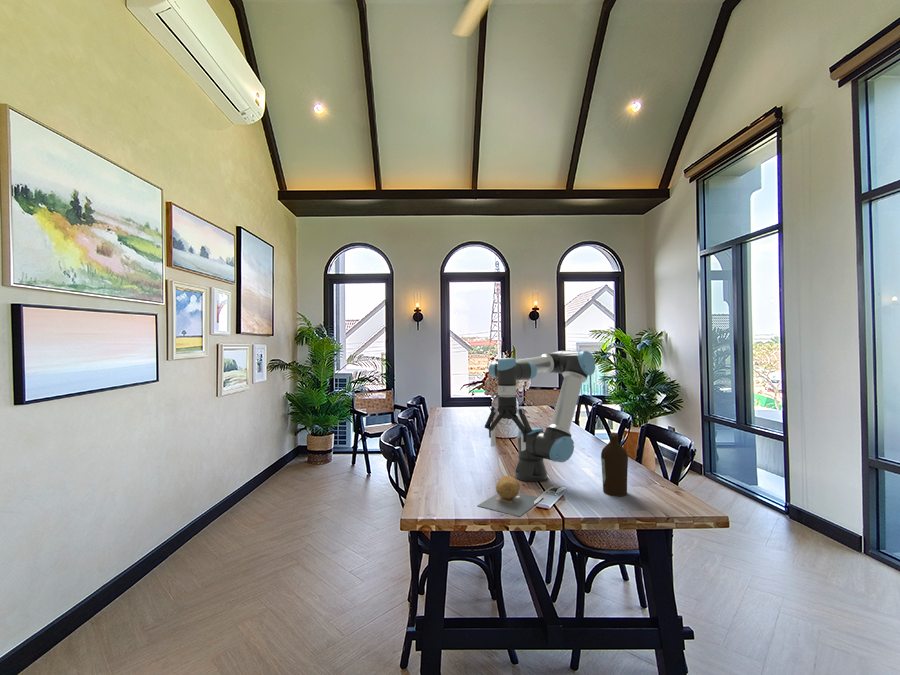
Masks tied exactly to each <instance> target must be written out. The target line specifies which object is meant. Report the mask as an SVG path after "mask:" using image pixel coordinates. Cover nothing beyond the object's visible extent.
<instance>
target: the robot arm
mask: <svg viewBox="0 0 900 675" xmlns="http://www.w3.org/2000/svg"><path fill="white" fill-rule="evenodd" d="M488 366H489V367H488V373H489V375H490V377H492V378H495V379H497V395H498V397H497V405H498V406H495V405H494V406H492V407H491V408H490V414H489V416H488V417H487V420H486V422H485V425H484V428H485V429H487V430H488V437H489V438H490V447H495V446H496V444H497V443H496V429H495V428H496V426H497V425H498V424H499V423H500V422H501V420H502V419H504V420H506V419H507V420H512V421H513V422H514V424H515V425H516V426H517V428H518V429H519V430H518V433H517V434H518V435H517V447H518V451H517V452H518V461H517V463H516V467H515V471H514V476H515V478H516V479H518V480H521V481H524V482H530V483H531V482H532V483H533V482H535V483H537V482H543V481H546V480H547V479H548V471H547V468H546V465H545V461H544V459H545V460H548V461H552V462H554V463H557V462H558V463H565V462H567V461H569V460H570V458H571V457H572V455H573V454H574V450H575V443H574V440H573V439H572V433H571V431H570V430H571V426H572V423H573V422H572V421H573V418H574V416H575V411H576V407H577V404H578V401H579V400H578V399H579V397H580V392H581V389H582V385H583V383H585V382H587V380H588V377H590V376H592V375H593V374H594V373H595V372H596V371H595V370H596V361H595V357H594V356H593V354H592V353H591V352H590V351H589V350H581V349H580V350H557V351H553V352H548V353H543V354H542V355H540V356H535V357H527V358H519V359H516V358H514V357H505V358H504V357H503V358H502V357H500V358H498V360H497V361H493V362H491V363H490V364H489V365H488ZM537 373H544V374H551V373H554V374H561V375H562V377H563V380H562V384H561V388H560V390H559V391H560V392H559V394H558V398H557V401H556V404H555V408H554V412H553V415H552V419H551V421H550V424H549V425H548V426H546V427H545V431H544V429H543V428H542V427H531V424H530V422H529V421H528V418H527V416H526V414H525V409H524V408H523V407H522V408H518V407H517V398H518V397H517V381H528V380H533V379H534V378H536V376H537ZM497 413H498V415H497V416H496V414H497ZM517 414H518V415H517ZM495 416H496V418H495ZM494 418H495V420H494ZM519 418H520V419H519Z"/></svg>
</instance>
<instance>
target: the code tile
mask: <svg viewBox="0 0 900 675" xmlns="http://www.w3.org/2000/svg"><path fill="white" fill-rule="evenodd" d="M538 497H539V496H535V495H531V494H527V493H526V494H525V493H522V492H519V493H518V496H516V497H514V498H513V499H505V498H502V497H501V496H500V495H499V494H498V493H497V492H496V494H494V495H492V496H490V497H489V498H487V499H486V500H484V501H482V502H480V503H479V504H477V507H479V508H481V509H482V508H483V509H486V510H489V511H490V510H491V511H495V512H499V513H502V514H506V515H511V516H514V517H519V518H521V517H522V516H523V515H524V514H526V513H527V512H528V511H530V510H531V509H532V508H533V507H535V506H534V501H535V500H536V499H537V498H538Z"/></svg>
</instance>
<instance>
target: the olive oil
mask: <svg viewBox="0 0 900 675" xmlns="http://www.w3.org/2000/svg"><path fill="white" fill-rule="evenodd" d="M600 462H601V476H602V491H603V493H604V494H606V495H609V496H613V497H624V496H626V495H628V467H629V456H628V452H627V450H626V449H625V448H624V447H623V446H622V445H621V444H620V442H619V433H618V432H614V431H613V432H610V433H609V442H608V443H607V444H606V445H605V446H604V447H603V448H602V450H601V453H600Z"/></svg>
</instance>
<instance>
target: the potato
mask: <svg viewBox="0 0 900 675" xmlns="http://www.w3.org/2000/svg"><path fill="white" fill-rule="evenodd" d="M516 479H517V478H516ZM516 479H515V478H514V477H513V476H512V475H504V476H502V477H500V478H499V479H498V481H497V483H496V486H495V490H496V494H497V493H498V494H499V495H500V496H501V497H502V498H505V499H513V498H514V497H516V496H518V493H520V490H521V489H520V488H521V487H520V484H519V481H518V480H516Z"/></svg>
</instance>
